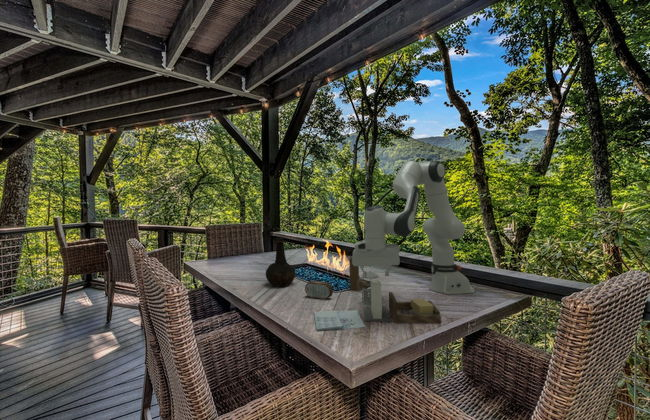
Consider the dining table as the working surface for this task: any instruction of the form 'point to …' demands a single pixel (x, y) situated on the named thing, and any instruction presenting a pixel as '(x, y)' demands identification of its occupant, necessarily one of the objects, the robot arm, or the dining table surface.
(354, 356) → the dining table surface
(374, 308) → the pale grey rectangular block
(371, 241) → the robot arm
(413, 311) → the offcut lower
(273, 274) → the dark brown vase
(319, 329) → the light flat printed piece
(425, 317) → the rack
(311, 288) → the tin
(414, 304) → the offcut upper
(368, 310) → the pad
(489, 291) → the dining table surface
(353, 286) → the wooden block
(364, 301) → the french press
